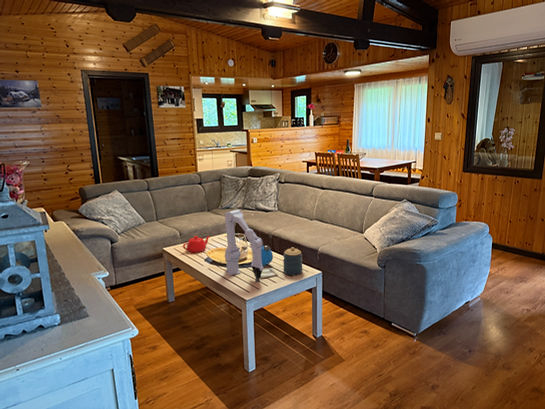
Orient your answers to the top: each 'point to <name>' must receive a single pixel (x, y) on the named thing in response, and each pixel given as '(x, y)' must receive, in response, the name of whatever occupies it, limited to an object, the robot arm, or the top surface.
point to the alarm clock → (266, 255)
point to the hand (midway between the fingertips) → (257, 277)
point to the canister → (292, 261)
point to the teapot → (196, 244)
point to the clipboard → (267, 273)
